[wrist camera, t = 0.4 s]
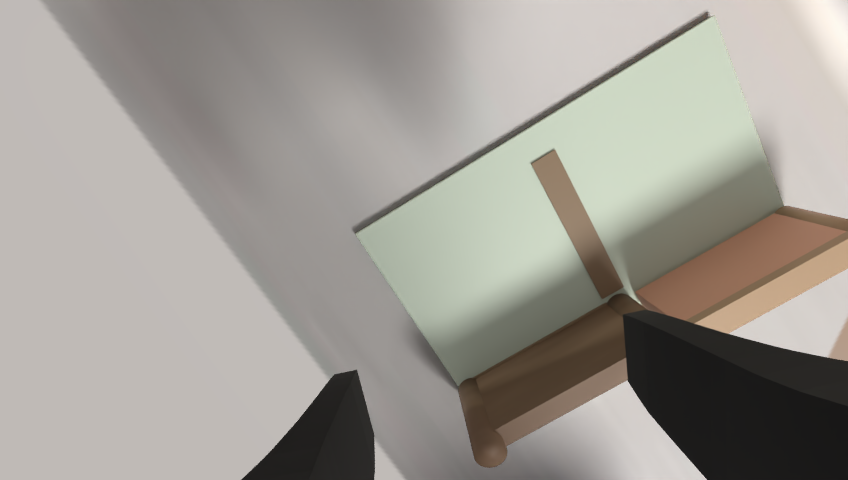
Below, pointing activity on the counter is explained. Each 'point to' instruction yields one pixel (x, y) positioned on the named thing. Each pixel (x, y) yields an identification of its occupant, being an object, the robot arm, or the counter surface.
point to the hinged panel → (753, 270)
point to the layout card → (579, 207)
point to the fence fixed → (546, 381)
